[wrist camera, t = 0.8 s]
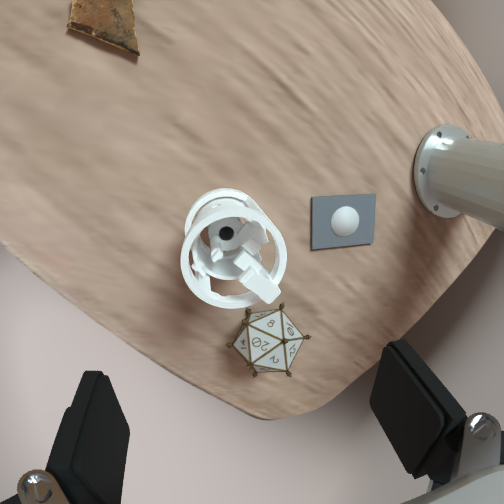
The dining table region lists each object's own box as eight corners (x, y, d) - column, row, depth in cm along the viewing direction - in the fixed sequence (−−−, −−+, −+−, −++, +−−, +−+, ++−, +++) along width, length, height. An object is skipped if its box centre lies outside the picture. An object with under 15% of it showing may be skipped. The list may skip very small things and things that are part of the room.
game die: (244, 316, 43) (201, 361, 35) (272, 274, 38) (227, 320, 30) (297, 356, 42) (263, 408, 34) (332, 319, 37) (301, 376, 29)
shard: (142, 58, 28) (139, 54, 26) (75, 80, 27) (69, 77, 25) (132, -21, 24) (129, -27, 22) (68, 0, 23) (63, -5, 21)
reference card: (374, 194, 36) (376, 194, 36) (371, 241, 38) (373, 243, 38) (311, 196, 35) (313, 197, 35) (311, 248, 37) (312, 249, 37)
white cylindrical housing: (223, 257, 36) (240, 334, 22) (174, 217, 34) (157, 276, 20) (267, 209, 35) (312, 261, 21) (218, 166, 32) (232, 189, 19)
